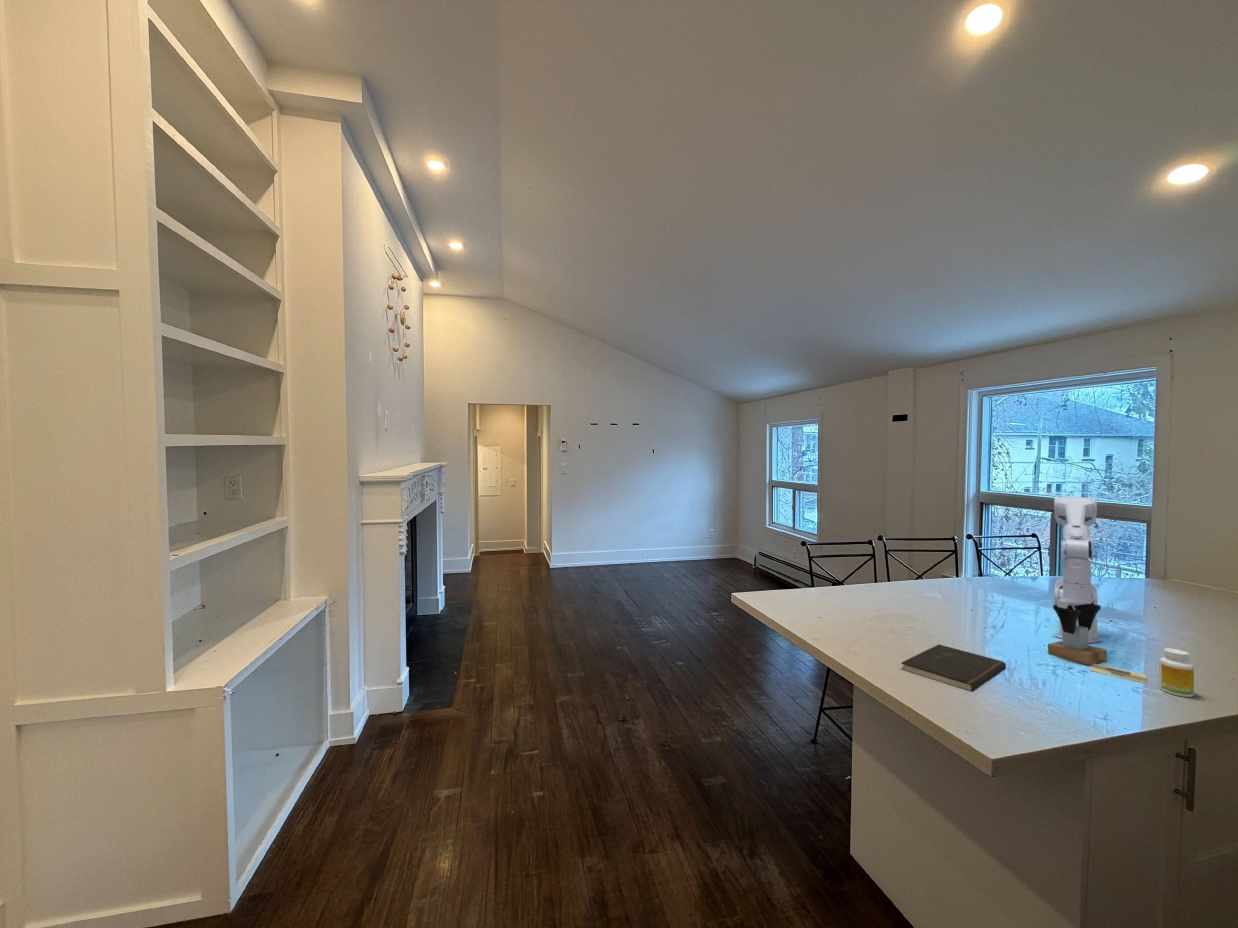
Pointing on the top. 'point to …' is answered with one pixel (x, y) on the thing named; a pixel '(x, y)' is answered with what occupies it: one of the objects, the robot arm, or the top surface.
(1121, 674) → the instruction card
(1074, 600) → the robot arm
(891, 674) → the top surface
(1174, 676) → the supplement bottle
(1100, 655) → the walnut slab
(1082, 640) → the gray brick
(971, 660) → the hardcover book
